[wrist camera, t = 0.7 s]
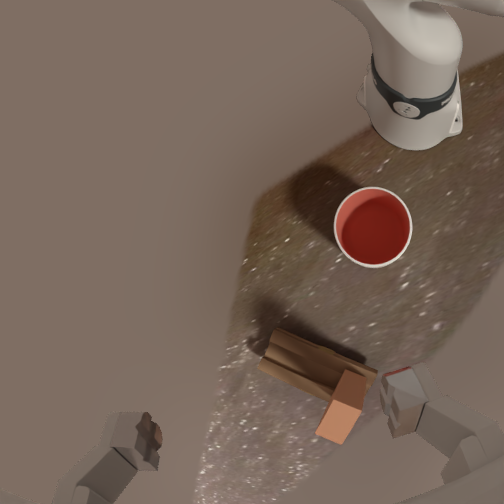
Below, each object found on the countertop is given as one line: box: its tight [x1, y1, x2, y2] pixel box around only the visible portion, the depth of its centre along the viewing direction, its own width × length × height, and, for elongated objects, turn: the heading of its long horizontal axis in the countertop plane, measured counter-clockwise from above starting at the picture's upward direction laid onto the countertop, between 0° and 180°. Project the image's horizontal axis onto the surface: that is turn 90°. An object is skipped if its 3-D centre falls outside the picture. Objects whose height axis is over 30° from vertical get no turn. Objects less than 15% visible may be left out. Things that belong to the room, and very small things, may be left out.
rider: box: [315, 369, 367, 445], centre depth 38 cm, size 5×4×13 cm
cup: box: [334, 187, 412, 268], centre depth 42 cm, size 10×10×10 cm
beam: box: [257, 327, 378, 402], centre depth 47 cm, size 7×17×4 cm, turn 69°
